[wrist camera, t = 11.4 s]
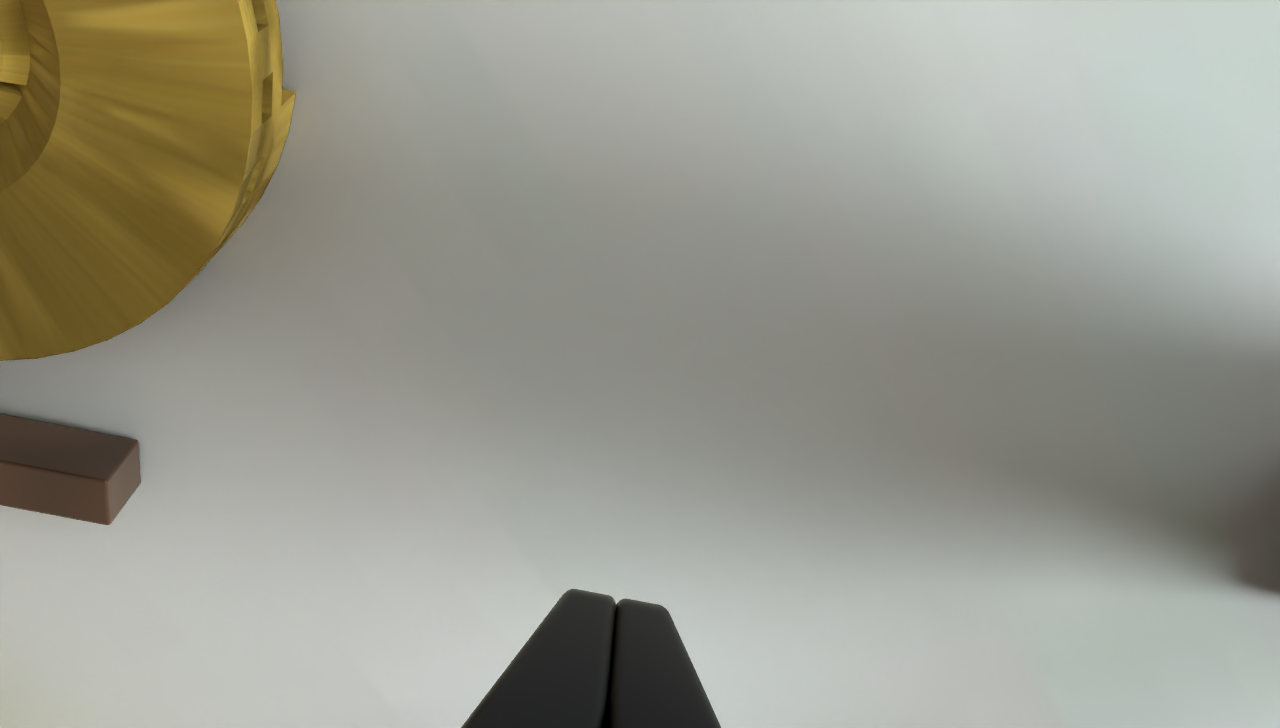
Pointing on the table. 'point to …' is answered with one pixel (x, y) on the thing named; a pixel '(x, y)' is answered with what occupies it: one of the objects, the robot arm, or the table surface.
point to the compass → (126, 156)
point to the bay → (66, 470)
